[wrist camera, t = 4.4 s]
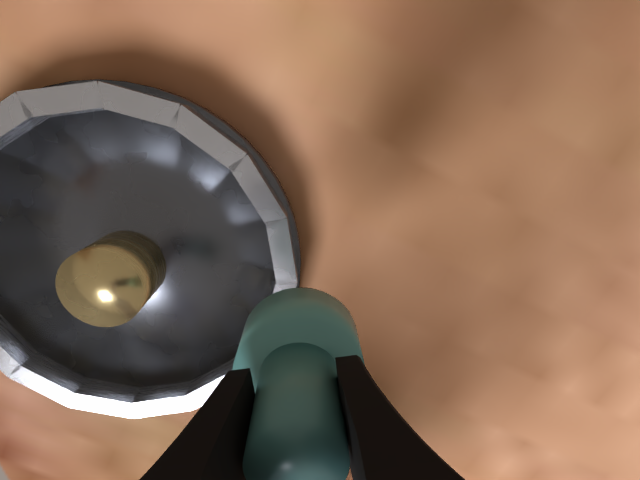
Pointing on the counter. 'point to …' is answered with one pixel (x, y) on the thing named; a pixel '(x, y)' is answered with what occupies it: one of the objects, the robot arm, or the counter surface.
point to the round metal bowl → (131, 246)
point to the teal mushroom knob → (297, 386)
